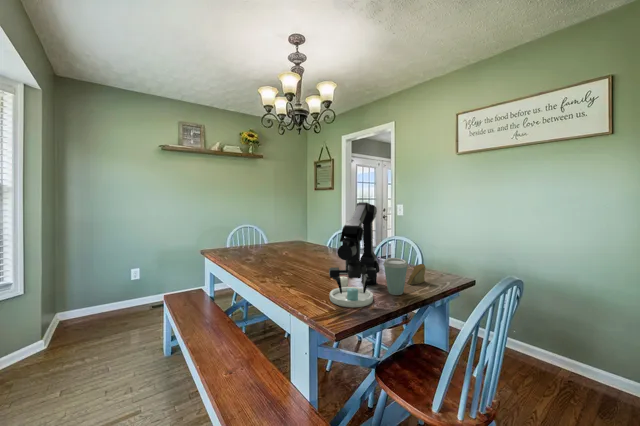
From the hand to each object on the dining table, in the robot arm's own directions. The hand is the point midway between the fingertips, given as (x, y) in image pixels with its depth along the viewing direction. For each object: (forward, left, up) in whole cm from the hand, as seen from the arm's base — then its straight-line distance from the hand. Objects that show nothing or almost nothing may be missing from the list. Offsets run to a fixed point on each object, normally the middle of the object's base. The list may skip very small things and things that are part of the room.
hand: (352, 293), depth 116 cm
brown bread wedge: (-41, -18, -5) cm, 45 cm away
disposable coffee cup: (-23, -7, -5) cm, 25 cm away
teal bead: (0, 0, -4) cm, 4 cm away
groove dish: (-1, -5, -4) cm, 7 cm away
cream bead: (-3, -20, -4) cm, 21 cm away
